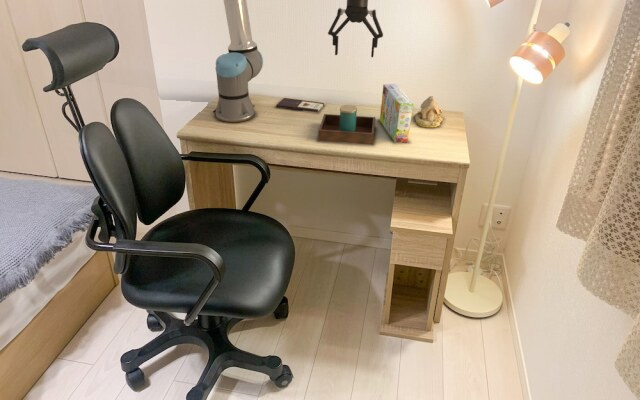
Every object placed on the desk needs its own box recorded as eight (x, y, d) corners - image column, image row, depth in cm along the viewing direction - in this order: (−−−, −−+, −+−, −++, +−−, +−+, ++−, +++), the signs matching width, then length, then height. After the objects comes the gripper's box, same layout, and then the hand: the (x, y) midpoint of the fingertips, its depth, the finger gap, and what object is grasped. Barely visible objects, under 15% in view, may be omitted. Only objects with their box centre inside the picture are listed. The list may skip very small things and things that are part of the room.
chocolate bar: (284, 97, 207) (323, 102, 202) (284, 99, 207) (323, 105, 203) (276, 104, 199) (317, 110, 195) (276, 107, 200) (317, 112, 195)
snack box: (409, 142, 173) (414, 102, 165) (394, 143, 172) (398, 103, 164) (392, 119, 191) (396, 82, 183) (378, 120, 190) (381, 83, 182)
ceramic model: (414, 113, 197) (417, 89, 191) (442, 115, 195) (445, 91, 190) (414, 127, 185) (418, 102, 179) (444, 129, 183) (448, 104, 178)
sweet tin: (338, 136, 176) (339, 110, 170) (339, 129, 181) (340, 104, 176) (355, 137, 175) (356, 111, 170) (356, 130, 180) (357, 105, 175)
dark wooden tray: (318, 141, 173) (318, 130, 170) (323, 124, 186) (324, 113, 183) (372, 145, 171) (373, 134, 168) (374, 127, 184) (375, 117, 181)
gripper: (321, -6, 168) (320, 55, 179) (392, -3, 165) (387, 59, 176) (324, -9, 174) (322, 51, 185) (393, -6, 172) (387, 54, 182)
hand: (354, 55), depth 181 cm, fingers open, 13 cm apart
